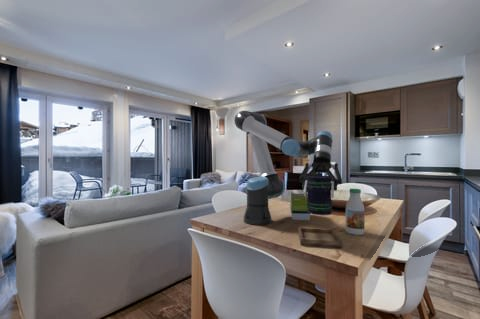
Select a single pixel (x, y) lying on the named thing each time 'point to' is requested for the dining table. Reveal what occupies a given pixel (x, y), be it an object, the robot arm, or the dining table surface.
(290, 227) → the dining table surface
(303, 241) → the tray
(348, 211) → the milk bottle
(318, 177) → the storage jar
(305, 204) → the tea box
